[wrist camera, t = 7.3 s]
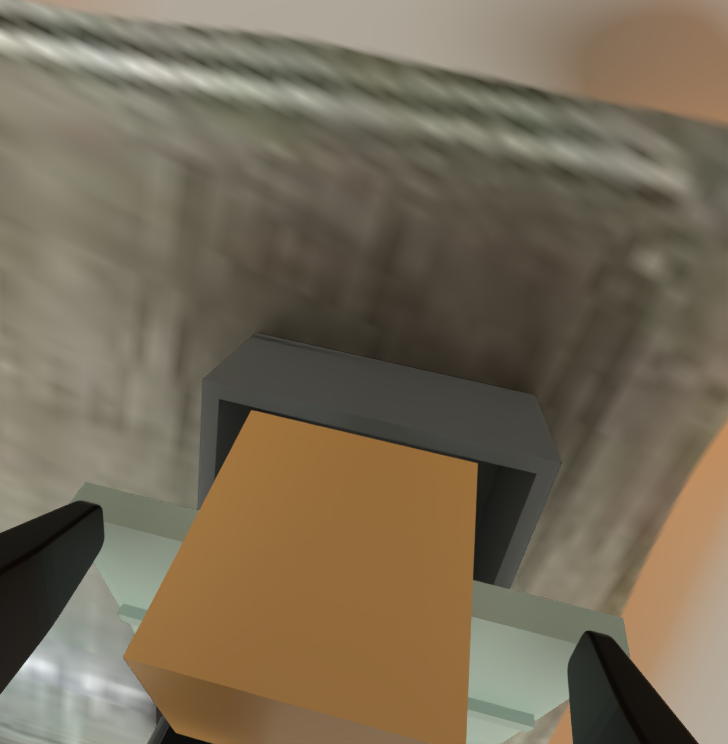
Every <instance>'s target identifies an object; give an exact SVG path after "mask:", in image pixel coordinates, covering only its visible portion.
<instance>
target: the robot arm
mask: <svg viewBox="0 0 728 744" xmlns="http://www.w3.org/2000/svg"><path fill="white" fill-rule="evenodd" d="M104 538H105V534H104V518H103V509H102V507H101V506H100V505H99V504H95V503H91V502H87V501H83V500H79V501H75V502H73V503H70V504H68V505H65V506H63V507H61V508H58V509H56V510H54V511H51V512H49V513H47V514H44V515H42V516H39V517H37V518H35V519H32V520H30V521H28V522H25V523H23V524H20V525H18V526H16V527H13V528H11V529H9V530H6V531H4V532H2V533H0V694H1V693H2V692H3V690H4V689H5V688H6V686H7V685H8V684H9V682H10V681H11V680H12V679H13V677H14V676H15V675H16V673H17V672H18V671H19V669H20V668H21V667H22V666H23V664H24V663H25V662H26V660H27V659H28V658H29V656H30V655H31V654H32V653H33V651H34V650H35V649H36V647H37V646H38V645H39V644H40V642H41V641H42V640H43V638H44V637H45V636H46V634H47V633H48V631H49V630H50V629H51V627H52V626H53V624H54V623H55V621H56V620H57V618H58V617H59V615H60V614H61V612H62V611H63V609H64V608H65V606H66V604H67V603H68V601H69V600H70V598H71V597H72V595H73V593H74V592H75V590H76V589H77V587H78V585H79V584H80V582H81V581H82V579H83V578H84V576H85V574H86V573H87V571H88V570H89V568H90V567H91V565H92V563H93V562H94V560H95V559H96V557H97V555H98V554H99V552H100V550H101V549H102V546H103V543H104ZM567 677H568V689H569V701H570V713H571V725H572V736H573V744H699V743H698V742H697V741H696V740H695V738H694V737H693V736H692V735H691V733H690V732H689V731H688V730H687V729H686V728H685V726H684V725H683V724H682V722H681V721H680V720H679V719H678V717H677V716H676V715H675V714H674V713H673V711H672V710H671V709H670V708H669V706H668V705H667V704H666V703H665V701H664V700H663V699H662V698H661V696H660V695H659V694H658V693H657V692H656V690H655V689H654V688H653V687H652V685H651V684H650V683H649V682H648V680H647V679H646V678H645V677H644V676H643V674H642V673H641V672H640V671H639V669H638V668H637V667H636V666H635V664H634V663H633V662H632V661H631V659H630V658H629V657H628V656H627V654H626V653H625V652H624V651H623V649H622V648H621V647H620V646H619V645H618V643H617V642H616V641H615V640H614V639H613V638H612V637H611V636H609V635H607V634H603V633H599V632H595V631H591V630H587V631H585V632H584V633H583V634H582V636H581V638H580V640H579V642H578V643H577V645H576V647H575V649H574V651H573V653H572V655H571V657H570V659H569V662H568V667H567ZM156 708H157V726H156V728H155V730H154V732H153V734H152V736H151V738H150V740H149V742H148V744H213V743H209V742H206V741H202V740H199V739H195V738H192V737H188V736H185V735H181V734H178V733H175V731H174V730H173V728H172V727H171V726H170V724H169V723H168V721H167V720H166V718H165V717H164V716H163V714H162V713H161V711H160V710H159V708H158V707H157V706H156Z"/></svg>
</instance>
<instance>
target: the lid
mask: <svg viewBox="0 0 728 744" xmlns="http://www.w3.org/2000/svg"><path fill="white" fill-rule="evenodd" d="M477 471H478V463H474V462H470V461H466V460H461V459H457V458H453V457H449V456H444V455H440V454H436V453H432V452H427V451H423V450H419V449H415V448H410V447H406V446H402V445H398V444H394V443H389V442H385V441H381V440H377V439H372V438H368V437H364V436H360V435H355V434H351V433H347V432H343V431H338V430H334V429H330V428H326V427H321V426H317V425H313V424H309V423H304V422H300V421H296V420H292V419H287V418H283V417H279V416H275V415H270V414H266V413H262V412H258V411H253V410H251V412H250V414H249V415H248V417H247V419H246V421H245V423H244V425H243V427H242V429H241V431H240V433H239V435H238V437H237V439H236V440H235V442H234V444H233V446H232V448H231V450H230V452H229V454H228V456H227V458H226V460H225V462H224V464H223V466H222V467H221V469H220V471H219V473H218V475H217V477H216V479H215V481H214V483H213V485H212V487H211V489H210V491H209V493H208V494H207V496H206V498H205V500H204V502H203V504H202V506H201V508H200V510H199V511H198V510H194V509H190V508H186V507H182V506H179V505H175V504H171V503H167V502H163V501H159V500H155V499H151V498H147V497H143V496H139V495H135V494H131V493H127V492H123V491H119V490H115V489H111V488H107V487H103V486H100V485H96V484H92V483H88V482H85V483H84V485H83V486H82V487H81V489H80V490H79V491H78V493H77V494H76V495H75V497H74V498H73V499H72V501H71V502H70V503H73V502H75V501H79V500H83V501H87V502H91V503H95V504H99V505H100V506H101V507H102V509H103V518H104V534H105V538H104V543H103V546H102V549H101V550H100V552H99V554H98V555H97V557H96V559H95V560H94V564H95V565H96V567H97V569H98V571H99V572H100V574H101V576H102V577H103V579H104V581H105V583H106V584H107V586H108V588H109V589H110V591H111V593H112V595H113V596H114V598H115V600H116V601H117V603H118V605H119V607H120V610H119V612H118V613H117V614H118V616H119V617H120V619H121V621H122V622H126V623H129V624H130V625H131V627H132V629H133V631H134V632H135V635H134V637H133V639H132V641H131V643H130V645H129V647H128V649H127V651H126V652H125V654H124V656H123V658H124V660H125V661H126V663H127V664H128V665H129V667H130V668H131V670H132V671H133V673H134V674H135V675H136V677H137V678H138V680H139V681H140V683H141V684H142V685H143V687H144V688H145V690H146V691H147V693H148V694H149V695H150V697H151V698H152V700H153V701H154V703H155V704H156V706H157V707H158V708H159V710H160V711H161V713H162V714H163V716H164V717H165V718H166V720H167V721H168V723H169V724H170V726H171V727H172V728H173V730H174V731H175V733H178V734H181V735H185V736H188V737H192V738H195V739H199V740H202V741H206V742H209V743H213V744H501V743H503V742H504V741H506V740H507V739H509V738H510V737H512V736H513V735H515V734H516V733H518V732H519V731H524V732H529V731H530V730H532V729H533V728H535V724H534V721H536V720H537V719H539V718H540V717H542V716H543V715H545V714H546V713H548V712H549V711H551V710H552V709H554V708H555V707H557V706H558V705H560V704H561V703H563V702H564V701H566V700H567V699H569V689H568V677H567V667H568V662H569V659H570V657H571V655H572V653H573V651H574V649H575V647H576V645H577V643H578V642H579V640H580V638H581V636H582V634H583V633H584V632H585V631H587V630H591V631H595V632H599V633H603V634H607V635H609V636H611V637H612V638H613V639H614V640H615V641H616V642H617V643H618V645H619V646H620V647H621V648H622V649H623V651H624V652H625V653H626V654H627V656H628V657H629V658H630V654H629V648H628V643H627V638H626V632H625V626H624V621H623V618H621V617H617V616H613V615H609V614H605V613H601V612H597V611H593V610H589V609H585V608H581V607H577V606H574V605H570V604H566V603H562V602H558V601H554V600H550V599H546V598H542V597H538V596H534V595H530V594H526V593H522V592H518V591H514V590H510V589H506V588H502V587H498V586H495V585H491V584H487V583H483V582H479V581H475V580H473V567H474V543H475V519H476V495H477ZM70 503H69V504H70Z"/></svg>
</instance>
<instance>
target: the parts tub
mask: <svg viewBox="0 0 728 744" xmlns="http://www.w3.org/2000/svg"><path fill="white" fill-rule="evenodd" d="M251 410H253V411H258V412H262V413H266V414H270V415H275V416H279V417H283V418H287V419H292V420H296V421H300V422H304V423H309V424H313V425H317V426H321V427H326V428H330V429H334V430H338V431H343V432H347V433H351V434H355V435H360V436H364V437H368V438H372V439H377V440H381V441H385V442H389V443H394V444H398V445H402V446H406V447H410V448H415V449H419V450H423V451H427V452H432V453H436V454H440V455H444V456H449V457H453V458H457V459H461V460H466V461H470V462H474V463H478V471H477V495H476V519H475V543H474V567H473V580H475V581H479V582H483V583H487V584H491V585H495V586H498V587H502V588H506V589H510V587H511V585H512V582H513V580H514V578H515V575H516V573H517V570H518V568H519V565H520V563H521V561H522V558H523V556H524V553H525V551H526V548H527V546H528V544H529V541H530V539H531V536H532V534H533V531H534V529H535V527H536V524H537V522H538V519H539V517H540V514H541V512H542V510H543V507H544V505H545V502H546V500H547V497H548V495H549V493H550V490H551V488H552V485H553V483H554V480H555V478H556V476H557V473H558V471H559V468H560V466H561V463H562V462H561V460H560V457H559V454H558V452H557V449H556V447H555V444H554V441H553V439H552V436H551V434H550V431H549V428H548V426H547V423H546V421H545V418H544V415H543V413H542V410H541V407H540V405H539V402H538V400H537V397H536V395H533V394H528V393H524V392H519V391H515V390H511V389H506V388H502V387H497V386H493V385H488V384H484V383H479V382H475V381H470V380H466V379H461V378H457V377H452V376H448V375H443V374H439V373H434V372H430V371H425V370H421V369H416V368H412V367H407V366H403V365H399V364H394V363H390V362H385V361H381V360H376V359H372V358H367V357H363V356H358V355H354V354H349V353H345V352H340V351H336V350H331V349H327V348H322V347H318V346H313V345H309V344H304V343H300V342H296V341H291V340H287V339H282V338H278V337H273V336H269V335H264V334H260V333H255V334H254V335H253V336H252V337H250V338H249V339H248V340H247V341H246V342H245V343H244V344H242V345H241V346H240V347H239V348H238V349H237V350H236V351H234V352H233V353H232V354H231V355H230V356H229V357H228V358H227V359H225V360H224V361H223V362H222V363H221V364H220V365H219V366H217V367H216V368H215V369H214V370H213V371H212V372H211V373H209V374H208V375H207V376H206V377H205V378H204V379H203V385H202V410H201V435H200V459H199V484H198V508H197V510H198V511H199V510H200V508H201V506H202V504H203V502H204V500H205V498H206V496H207V494H208V493H209V491H210V489H211V487H212V485H213V483H214V481H215V479H216V477H217V475H218V473H219V471H220V469H221V467H222V466H223V464H224V462H225V460H226V458H227V456H228V454H229V452H230V450H231V448H232V446H233V444H234V442H235V440H236V439H237V437H238V435H239V433H240V431H241V429H242V427H243V425H244V423H245V421H246V419H247V417H248V415H249V414H250V412H251Z"/></svg>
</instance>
